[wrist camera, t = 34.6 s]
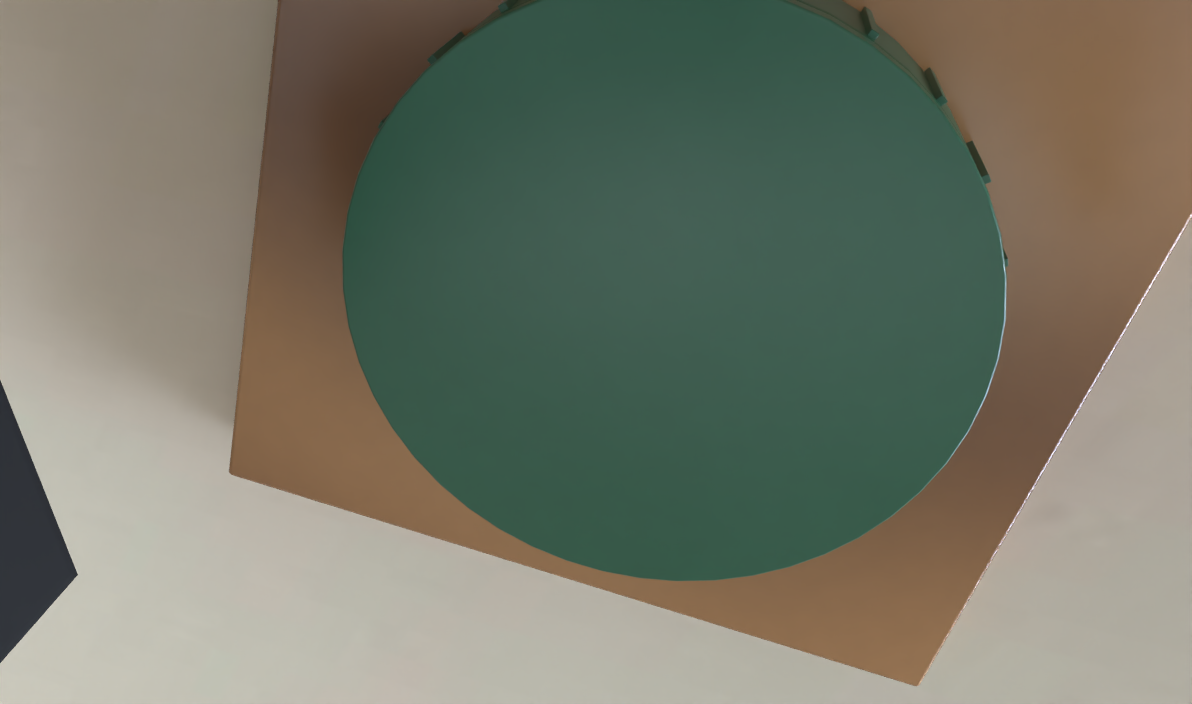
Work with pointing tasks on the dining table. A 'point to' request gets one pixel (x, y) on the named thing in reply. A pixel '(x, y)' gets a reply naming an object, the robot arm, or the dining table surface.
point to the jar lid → (676, 279)
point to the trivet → (1033, 298)
